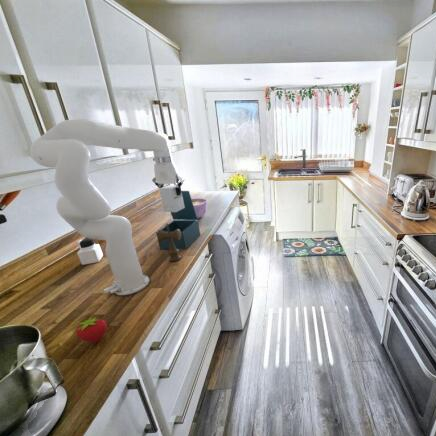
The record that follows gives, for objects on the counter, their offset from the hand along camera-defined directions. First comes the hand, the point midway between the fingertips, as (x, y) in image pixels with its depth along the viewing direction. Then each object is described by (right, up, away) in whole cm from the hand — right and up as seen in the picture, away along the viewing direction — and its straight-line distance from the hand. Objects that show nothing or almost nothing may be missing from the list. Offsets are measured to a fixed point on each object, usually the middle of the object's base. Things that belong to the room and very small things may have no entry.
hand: (171, 194), depth 123 cm
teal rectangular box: (-2, -26, +16) cm, 30 cm away
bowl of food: (-9, -12, +53) cm, 55 cm away
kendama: (+4, -33, -3) cm, 34 cm away
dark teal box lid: (-2, -5, +15) cm, 16 cm away
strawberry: (+1, -51, -49) cm, 71 cm away
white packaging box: (0, -8, +3) cm, 9 cm away
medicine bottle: (-40, -34, -1) cm, 52 cm away
